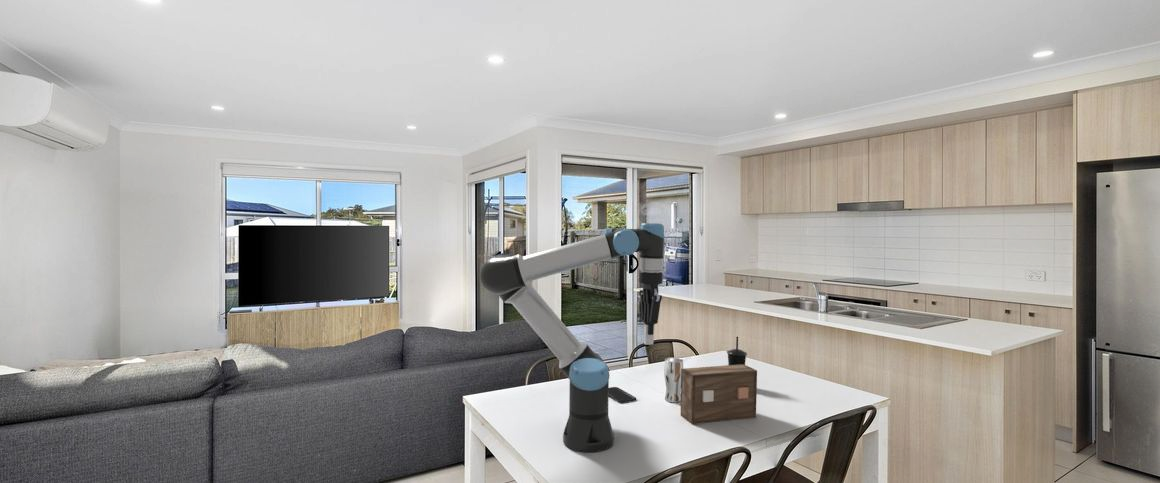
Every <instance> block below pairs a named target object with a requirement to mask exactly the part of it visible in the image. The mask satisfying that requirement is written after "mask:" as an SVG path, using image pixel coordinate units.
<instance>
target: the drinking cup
mask: <svg viewBox="0 0 1160 483" xmlns="http://www.w3.org/2000/svg"><path fill="white" fill-rule="evenodd" d="M735 339H736V341H735V342H736V343H735V348H732V349H730V350H727V352H726V353H727V361H728V363H727V365H738V364H744V365H746V360H747V355H748V353H747V352H746V351H745V350H742V349H739V336H736V338H735Z"/></svg>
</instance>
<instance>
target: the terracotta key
mask: <svg viewBox="0 0 1160 483" xmlns="http://www.w3.org/2000/svg"><path fill="white" fill-rule="evenodd" d="M737 398H738V399H743V398H748V387H747V386H739V387H737Z"/></svg>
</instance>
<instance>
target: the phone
mask: <svg viewBox="0 0 1160 483" xmlns="http://www.w3.org/2000/svg"><path fill="white" fill-rule="evenodd" d="M608 399H611V400H612V401H614V402H616V403H618V404H625V403H631V402H636V401H637V397H636V396H634V395H632V394H631V393H628V392H627V391H625V390H623V389H622V388H620V387H618V386H612V387H609V397H608Z"/></svg>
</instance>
